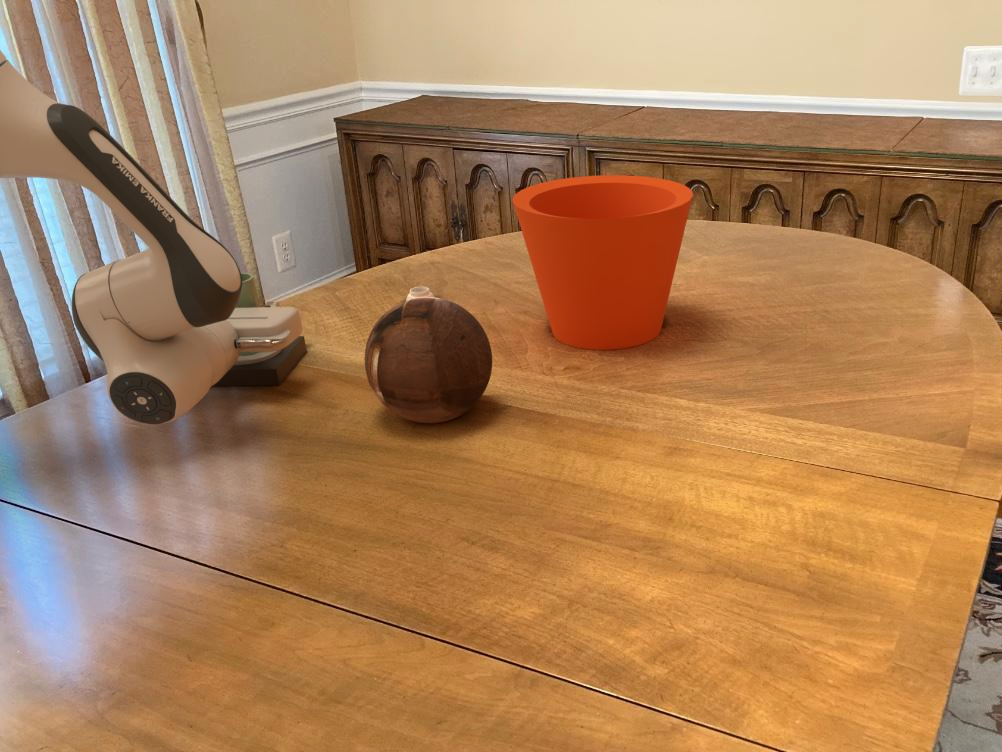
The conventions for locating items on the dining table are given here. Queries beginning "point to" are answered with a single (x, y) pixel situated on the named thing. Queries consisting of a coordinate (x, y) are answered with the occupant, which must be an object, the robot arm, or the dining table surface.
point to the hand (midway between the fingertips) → (240, 307)
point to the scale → (264, 366)
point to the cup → (248, 298)
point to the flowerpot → (604, 254)
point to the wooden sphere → (428, 360)
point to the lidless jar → (419, 293)
